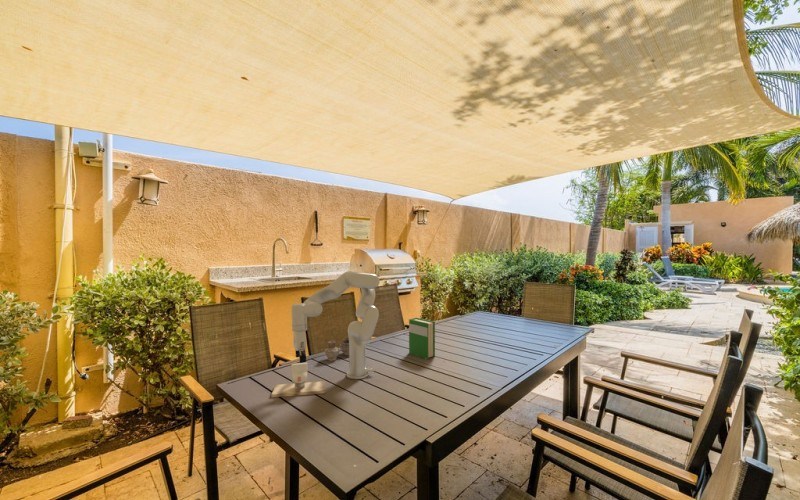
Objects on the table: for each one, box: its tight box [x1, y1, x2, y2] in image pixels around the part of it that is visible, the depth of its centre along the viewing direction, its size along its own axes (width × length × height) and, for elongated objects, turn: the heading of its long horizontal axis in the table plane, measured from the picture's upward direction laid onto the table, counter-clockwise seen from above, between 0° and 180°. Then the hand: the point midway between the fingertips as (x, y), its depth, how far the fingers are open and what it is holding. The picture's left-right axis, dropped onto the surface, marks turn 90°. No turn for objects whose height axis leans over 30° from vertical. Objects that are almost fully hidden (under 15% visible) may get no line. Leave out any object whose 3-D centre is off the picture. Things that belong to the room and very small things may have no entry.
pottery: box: [324, 337, 349, 362], centre depth 232 cm, size 11×25×12 cm, turn 144°
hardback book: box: [408, 317, 436, 360], centre depth 235 cm, size 18×7×24 cm, turn 42°
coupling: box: [291, 362, 309, 384], centre depth 177 cm, size 9×8×9 cm
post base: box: [270, 380, 326, 398], centre depth 178 cm, size 26×12×5 cm, turn 101°
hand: (300, 359), depth 178 cm, fingers open, 9 cm apart
